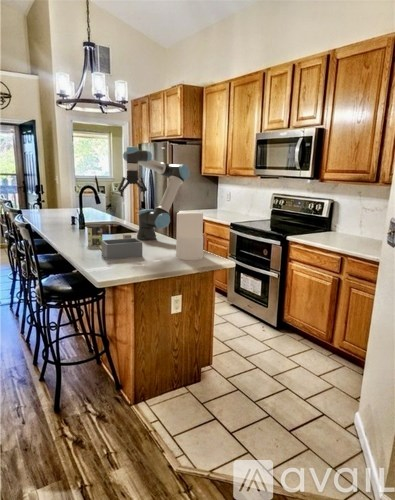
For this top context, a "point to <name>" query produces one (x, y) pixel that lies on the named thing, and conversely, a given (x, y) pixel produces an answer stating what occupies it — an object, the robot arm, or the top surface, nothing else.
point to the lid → (123, 238)
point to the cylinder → (189, 235)
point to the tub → (121, 248)
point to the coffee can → (94, 235)
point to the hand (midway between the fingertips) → (132, 201)
